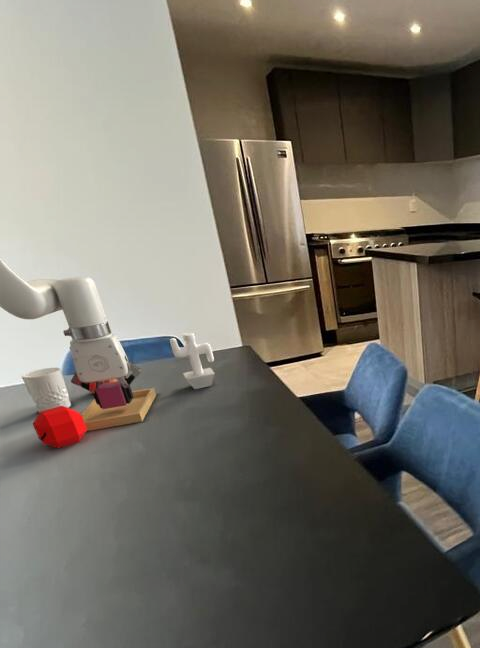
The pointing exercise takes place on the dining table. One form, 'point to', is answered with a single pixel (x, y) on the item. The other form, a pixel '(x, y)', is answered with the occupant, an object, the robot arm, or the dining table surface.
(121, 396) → the pink block
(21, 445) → the dining table surface
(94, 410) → the tray
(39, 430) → the red apple
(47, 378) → the white cup
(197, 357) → the figurine
